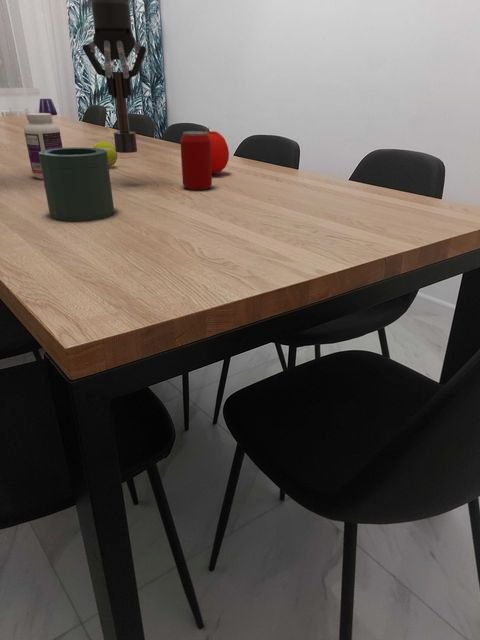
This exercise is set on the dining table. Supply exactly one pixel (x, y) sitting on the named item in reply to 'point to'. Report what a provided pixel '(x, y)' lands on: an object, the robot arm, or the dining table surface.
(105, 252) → the dining table surface
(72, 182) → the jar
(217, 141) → the tomato
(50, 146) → the pill bottle
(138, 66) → the robot arm
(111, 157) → the tennis ball
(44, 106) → the toy lamp
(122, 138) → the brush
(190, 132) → the beverage can
